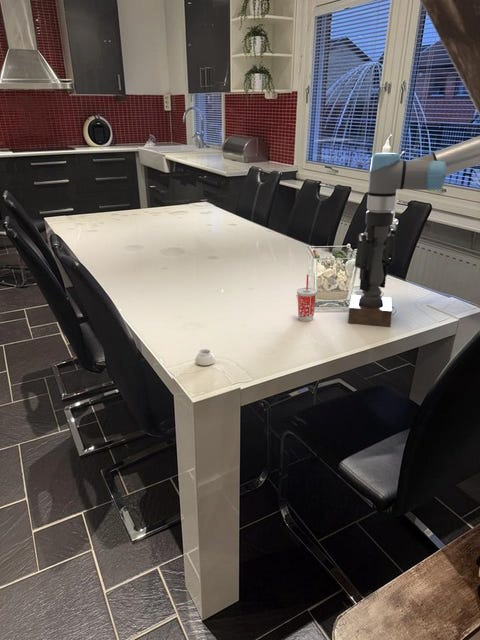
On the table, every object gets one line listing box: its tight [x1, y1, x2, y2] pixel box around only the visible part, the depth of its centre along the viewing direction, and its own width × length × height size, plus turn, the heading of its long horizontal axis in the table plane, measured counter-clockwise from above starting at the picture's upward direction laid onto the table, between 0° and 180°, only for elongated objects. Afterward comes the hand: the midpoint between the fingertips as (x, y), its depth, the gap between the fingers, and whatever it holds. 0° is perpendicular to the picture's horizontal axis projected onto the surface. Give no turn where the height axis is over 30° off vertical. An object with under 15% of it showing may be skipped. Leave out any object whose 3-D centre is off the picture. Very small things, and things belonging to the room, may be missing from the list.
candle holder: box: [360, 226, 389, 307], centre depth 138 cm, size 6×6×25 cm
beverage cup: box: [296, 274, 318, 322], centre depth 142 cm, size 6×6×14 cm
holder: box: [347, 294, 393, 328], centre depth 143 cm, size 12×12×5 cm
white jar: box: [194, 348, 216, 366], centre depth 117 cm, size 5×3×5 cm
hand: (372, 288), depth 141 cm, fingers closed on candle holder, 6 cm apart
